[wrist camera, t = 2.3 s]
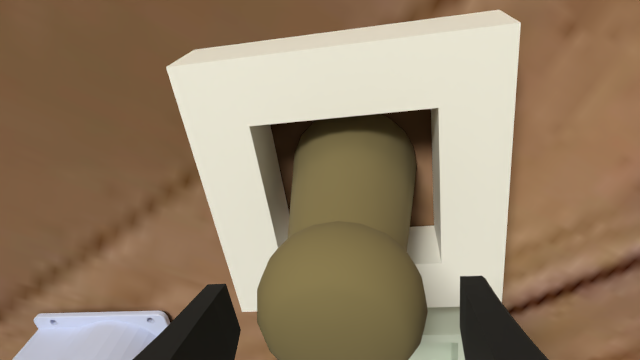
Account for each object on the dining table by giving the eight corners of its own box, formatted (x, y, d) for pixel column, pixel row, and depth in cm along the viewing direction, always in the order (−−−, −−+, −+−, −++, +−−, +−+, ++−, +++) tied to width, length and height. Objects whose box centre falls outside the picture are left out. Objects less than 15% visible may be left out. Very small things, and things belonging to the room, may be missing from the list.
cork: (442, 151, 21) (499, 336, 11) (371, 236, 23) (367, 442, 14) (334, 83, 20) (293, 223, 10) (272, 181, 22) (196, 361, 13)
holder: (255, 273, 26) (242, 311, 23) (193, 49, 20) (166, 67, 17) (487, 264, 23) (501, 305, 21) (499, 9, 17) (520, 22, 15)
